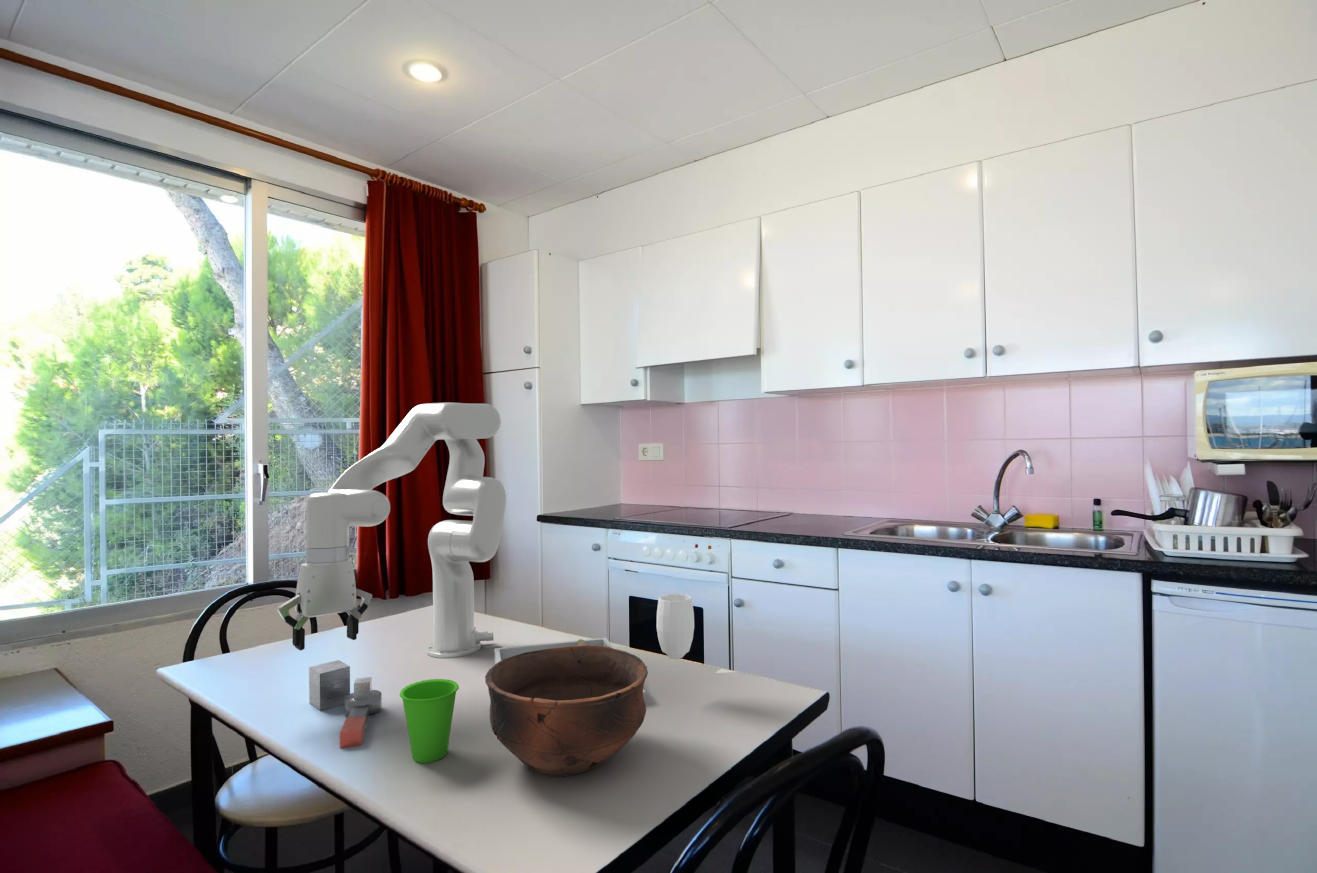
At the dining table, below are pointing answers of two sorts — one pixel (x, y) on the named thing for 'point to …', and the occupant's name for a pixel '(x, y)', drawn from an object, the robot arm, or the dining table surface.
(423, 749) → the cup
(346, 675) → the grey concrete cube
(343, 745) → the ratchet
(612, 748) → the bowl
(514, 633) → the dining table surface
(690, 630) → the cup
